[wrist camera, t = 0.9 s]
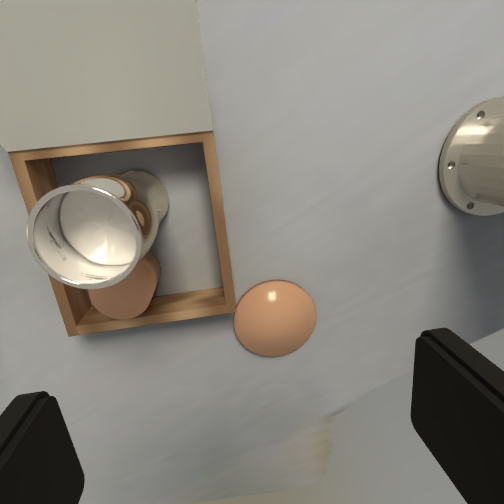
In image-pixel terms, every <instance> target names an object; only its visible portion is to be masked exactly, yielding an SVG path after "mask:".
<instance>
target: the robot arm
mask: <svg viewBox="0 0 504 504" xmlns="http://www.w3.org/2000/svg"><path fill="white" fill-rule="evenodd" d="M439 179H440V183H441V187H442V190H443V192H444V194H445V196H446V198H447V199H448V200H449V201H450V203H451V204H452V205H453V206H455V207H456V208H457V209H459V210H461V211H463V212H466V213H469V214H473V215H476V216H491V215H497V214H500V213H503V212H504V97H501V98H495V99H492V100H489V101H486V102H483V103H481V104H479V105H478V106H476V107H474V108H473V109H471V110H470V111H469V112H468V113H466V114H465V115H464V116H463V117H462V118H461V119H460V120H459V121H458V122H457V124H456V125H455V126H454V128H453V129H452V131H451V132H450V134H449V135H448V138H447V140H446V142H445V144H444V146H443V150H442V153H441V156H440V164H439ZM413 374H414V375H413V388H412V403H411V421H412V424H413V426H414V429H415V430H416V432H417V433H418V435H419V436H420V437H421V439H422V440H423V442H424V443H425V445H426V446H427V447H428V449H429V450H430V452H431V453H432V454H433V456H434V457H435V459H436V460H437V461H438V463H439V464H440V465H441V467H442V468H443V470H444V471H445V473H446V474H447V475H448V477H449V478H450V479H451V481H452V482H453V484H454V485H455V487H456V488H457V490H458V491H459V492H460V494H461V495H462V496H463V498H464V499H465V501H466V502H467V503H468V504H504V371H502V370H501V369H500V368H499V367H497V366H496V365H495V364H493V363H492V362H491V361H489V360H488V359H487V358H486V357H484V356H483V355H482V354H481V353H479V352H478V351H476V350H475V349H474V348H473V347H472V346H470V345H469V344H468V343H466V342H465V341H464V340H463V339H461V338H460V337H459V336H457V335H456V334H455V333H454V332H452V331H451V330H449V329H448V328H438V329H432V330H426V331H423V332H422V333H421V336H420V337H419V338H417V339H416V344H415V359H414V373H413ZM83 488H84V473H83V470H82V467H81V465H80V462H79V459H78V457H77V454H76V451H75V448H74V446H73V443H72V440H71V438H70V435H69V432H68V429H67V427H66V424H65V421H64V419H63V416H62V413H61V410H60V408H59V405H58V402H57V400H56V398H55V397H54V396H49V394H48V393H47V392H45V391H41V392H35V393H28V394H22V395H18V396H16V397H15V398H14V399H13V400H12V402H11V403H10V404H9V405H8V407H7V408H6V409H5V410H4V412H3V413H2V414H1V416H0V504H78V503H79V500H80V497H81V495H82V492H83Z"/></svg>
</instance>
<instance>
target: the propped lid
mask: <svg viewBox="0 0 504 504" xmlns="http://www.w3.org/2000/svg"><path fill="white" fill-rule="evenodd" d="M203 131H213V127H212V120H211V112H210V104H209V96H208V88H207V80H206V73H205V65H204V57H203V49H202V41H201V33H200V25H199V18H198V10H197V2H196V0H0V145H1V146H2V147H3V148H4V150H5V151H6V152H10V151H20V150H29V149H39V148H49V147H58V146H68V145H77V144H87V143H97V142H106V141H116V140H126V139H135V138H145V137H155V136H164V135H174V134H184V133H193V132H203Z"/></svg>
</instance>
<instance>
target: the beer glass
mask: <svg viewBox="0 0 504 504" xmlns="http://www.w3.org/2000/svg"><path fill="white" fill-rule="evenodd" d="M168 206H169V200H168V195H167V192H166V189H165V187H164V186H163V184H162V183H161V182H160V181H159V180H158V179H157V178H156V177H154V176H153V175H151V174H149V173H146V172H143V171H128V172H125V173H122V174H121V175H113V174H99V175H92V176H87V177H84V178H81V179H78V180H75V181H72V182H70V183H68V184H66V185H64V186H62V187H59V188H56V189H54V190H52V191H50V192H48V193H47V194H45V195H44V196H43V197H42V198H41V199H40V200H39V201H38V202H37V203H36V204H35V206H34V207H33V209H32V210H31V213H30V215H29V218H28V222H27V240H28V244H29V248H30V250H31V252H32V254H33V256H34V258H35V260H36V261H37V262H38V264H39V265H40V266H41V267H42V268H43V269H44V270H45V271H46V272H47V273H48V274H49V275H50V276H52V277H53V278H55V279H56V280H58V281H60V282H62V283H64V284H66V285H69V286H72V287H76V288H80V289H101V288H106V287H109V286H112V285H114V284H116V283H118V282H120V281H122V280H123V279H124V278H126V277H127V276H128V275H129V274H130V273H131V272H132V270H133V269H134V268H135V267H136V266H137V265H138V264H139V263H140V261H141V260H142V259H143V258H144V257H145V255H146V254H147V253H148V251H149V250H150V248H151V247H152V244H153V242H154V240H155V238H156V235H157V232H158V226H159V223H160V222H161V221H162V220H163V219H164V217H165V215H166V213H167V211H168Z"/></svg>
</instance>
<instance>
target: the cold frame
mask: <svg viewBox="0 0 504 504" xmlns="http://www.w3.org/2000/svg"><path fill="white" fill-rule="evenodd" d="M202 142H203V147H204V154H205V161H206V168H207V175H208V182H209V189H210V196H211V203H212V210H213V217H214V224H215V231H216V238H217V245H218V252H219V259H220V266H221V273H222V280H223V287H220V288H213V289H206V290H199V291H192V292H185V293H177V294H170V295H163V296H156V297H152V298H151V301H150V303H149V305H148V307H147V309H146V310H145V311H144V312H143V313H142V314H140V315H138V316H137V317H134V318H131V319H126V320H118V319H113V318H110V317H107V316H105V315H103V314H102V313H100V312H99V311H98V310H97V309H96V308H95V307H94V305H92V304H91V300H90V297H89V293H88V290H87V289H80V288H76V287H72V286H69V285H66V284H64V283H62V282H60V281H58V280H56V279H55V278H53V277H52V276H50V275H49V274H48V275H49V278H50V281H51V284H52V287H53V290H54V293H55V296H56V299H57V302H58V306H59V309H60V312H61V315H62V318H63V321H64V324H65V327H66V330H67V333H68V336H76V335H83V334H90V333H96V332H103V331H110V330H117V329H124V328H130V327H137V326H144V325H151V324H158V323H165V322H171V321H178V320H185V319H192V318H199V317H205V316H212V315H219V314H226V313H233V312H237V310H236V303H235V295H234V287H233V280H232V272H231V265H230V257H229V249H228V242H227V234H226V227H225V219H224V211H223V204H222V196H221V189H220V181H219V173H218V166H217V158H216V151H215V143H214V135H213V131H203V132H193V133H184V134H174V135H164V136H155V137H145V138H135V139H126V140H116V141H106V142H97V143H87V144H77V145H68V146H58V147H49V148H39V149H29V150H20V151H10V152H8V153H9V156H10V159H11V162H12V165H13V168H14V171H15V174H16V177H17V180H18V183H19V186H20V189H21V192H22V196H23V199H24V202H25V205H26V208H27V211H28V214H29V215H30V213H31V210H32V209H33V207H34V206H35V204H36V203H37V202H38V201H39V200H40V199H41V198H42V197H43V196H44V195H45V194H47V193H48V192H50V191H52V190H54V189H56V188H58V186H57V183H56V179H55V176H54V173H53V169H52V166H51V162H50V159H51V158H60V157H70V156H79V155H89V154H98V153H107V152H117V151H126V150H136V149H145V148H154V147H164V146H173V145H183V144H192V143H202Z"/></svg>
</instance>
